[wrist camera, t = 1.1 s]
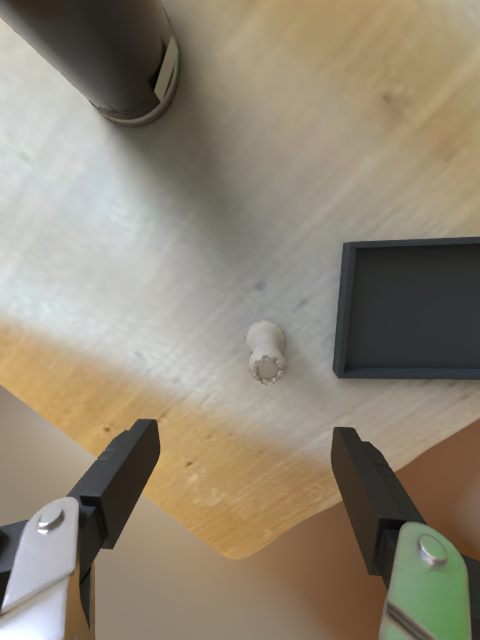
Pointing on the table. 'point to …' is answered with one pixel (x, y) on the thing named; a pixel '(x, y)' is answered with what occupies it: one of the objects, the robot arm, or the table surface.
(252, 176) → the table surface
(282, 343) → the rook chess piece
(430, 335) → the tray
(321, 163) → the table surface
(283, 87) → the table surface
